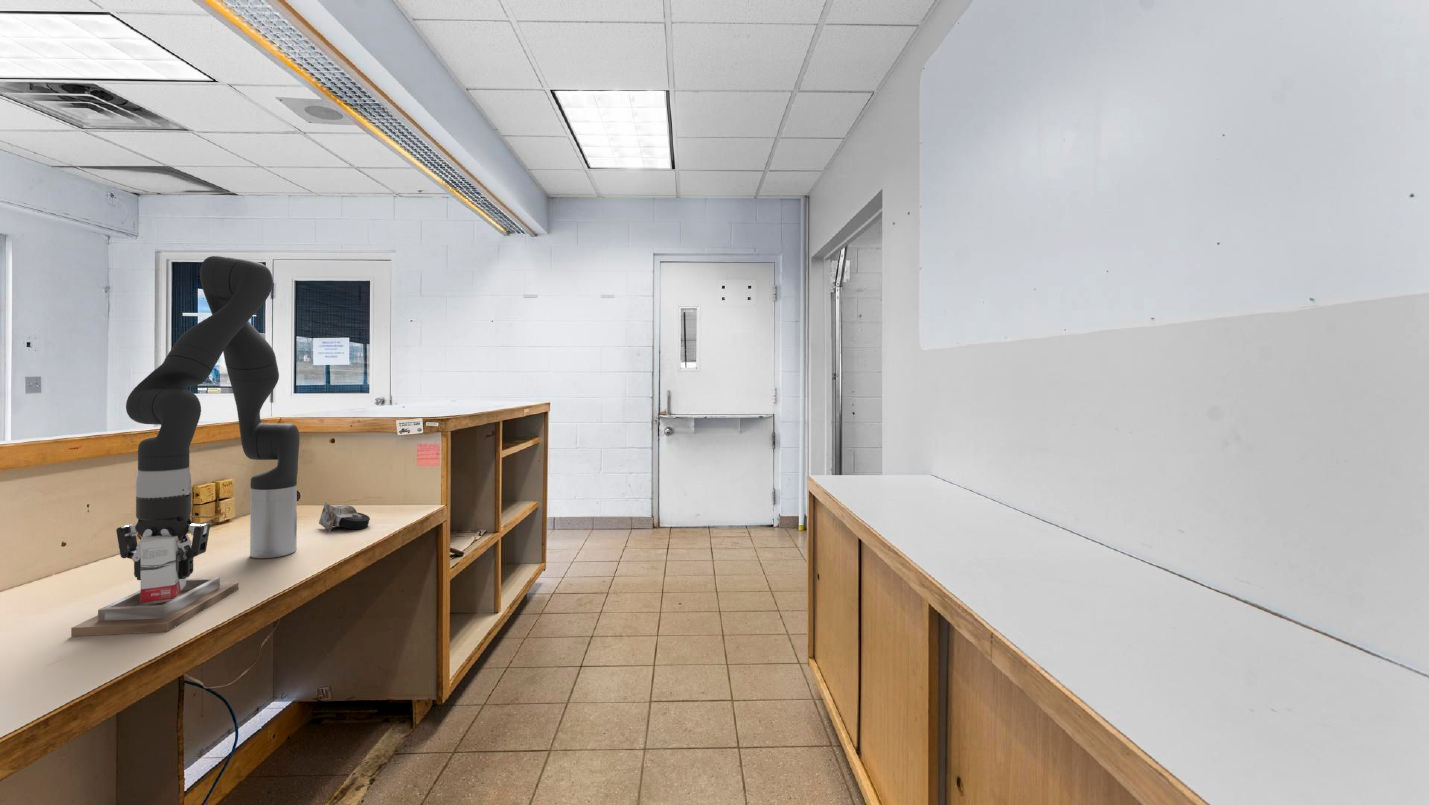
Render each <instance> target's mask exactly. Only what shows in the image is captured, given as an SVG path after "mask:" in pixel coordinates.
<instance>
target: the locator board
mask: <svg viewBox="0 0 1429 805" xmlns="http://www.w3.org/2000/svg"><path fill="white" fill-rule="evenodd" d="M239 583H240V582H239V581H238V582H221V578H220V577H203V578H202V577H201V578H186V585H185V587H184V588H183V589H182V590H181V591H180V593H179V594H178V595H177V596H176V597H175V599H169V600H161V601H154V602H146V603H140V590H141V589H140V590H138V591H136V592H134V593H131V594H128V595H126V596H124V597H123V598H121V599H118V600H116V601H114V602H112V603H110V604H108V605H105V606H104V607H101V608H99V609H98V610H97V615H94V616H92V617H91V618H89V619H86V620H85V621H82V622H81V623H78V624H76V625H74V626H72V627H71V628H70V632H71V633H70V635H71V637H85V636H86V637H87V636H88V637H89V636H107V635H126V634H127V635H128V634H147V633H148V632H152V633H169V631H171V630H172V629H174V628H176V627H178V626H179V625H181V624H183V623H184V622H186V621H188V620H189V618H190V619H192V618H193V617H194V615H195V616H197V614H200V613H201V612H203V611H205V610H207V609H208V608H210V607H212V606H213V605H215V604H216V603H218V602H220V601H222V600H223V599H225V598H227V597H228V596H230V595H231V594H233V593H235V592H236V591H238V590H239V585H240V584H239ZM234 591H235V592H234ZM204 609H205V610H204ZM199 612H200V613H199ZM175 626H176V627H175ZM148 634H149V633H148Z"/></svg>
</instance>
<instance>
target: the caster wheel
mask: <svg viewBox="0 0 1429 805" xmlns="http://www.w3.org/2000/svg"><path fill="white" fill-rule="evenodd" d="M322 508H323V509H322V511H321V515H320V518H319V521H318V524H319V525H320V526H322V527H323V528H324V529H327V531H329V530H330V531H329V532H331V531H332V529H333V527H341V528H345V529H351V530H362V529H366V528H367V527H368V526H369V524H370V520H371V518H370V516H369V515H367V514H364V513H362V512H358V511H357V510H356V508H355V507H354V506H352V505H349V504H344V505H343V504H338V505H330V504H329V503H327V502H324V505H323V507H322ZM365 527H366V528H365Z"/></svg>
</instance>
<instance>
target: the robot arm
mask: <svg viewBox="0 0 1429 805" xmlns="http://www.w3.org/2000/svg"><path fill="white" fill-rule="evenodd" d="M199 269H200V270H199V280H200V286H201V288H202V291H203V294H204V296H205V300H206V302H207V304H208V305H207V306H208V308H209V310H210V313H211V315H210V316H208V317H207V318H205V319H203V320H202V321H200V322H198V323H196V324H195V325H193V326H192V327H190V328H188V330H186V331H184V333H182V334H181V335H180V336H179V338H178V339H177V340H176V341H175V343H174V344H173V346H172V348H171V349H170V351H169V352H168V353H167V355H166V357H165V358H164V360H163V362H162V364H160V365H159V366H157V368H155V369H154V370H153V371H152V372H150V373H149V374H148V375H147V376H146V377H144V379H142V380H141V382H139V383H138V384H137V385H136V386H135V387H134V388H133V389H132V391H131V392H130V393H129V395H128V397H127V400H126V403H125V411H126V414H127V415H128V416H127V417H129V418H130V419H131V420H132V421H133V422H136V423H139V424H142V425H143V424H144V425H160V428H159V431H158V433H157V435H156V436H155V437H149V438H145V439H143V440H141V441H140V442H139V443H138V446H137V476H136V481H135V517H136V519H137V523H136V524H132V523H129V524H126V525H124V526H120V527H117V528H116V529H115V530H116V537H117V543H118V544H117V545H118V548H119V555H120V558H122V559H129V560H132V562H133V576H134V577H135V578H136V580H137V581H141V539H143V538H144V537H151V536H163V537H173V536H178V539H179V540H180V541H181V540H182V543H181V544H180V543H179V542H178V543H177V549H178V557H179V558H180V560H179V561H178V579H185V578H186V579H188V578H189V577H190V576H191V575H192V574H193V573H194V558H196V557H197V556H199V555H202V554H205V553H206V552H207V548H208V547H207V546H208V540H209V535H210V529H211V525H210V523H208V522H206V523H205V522H204V523H202V524H201V523H193V522H192V520H191V514H192V488H193V487H192V475H191V471H190V468H191V467H190V448H191V447H190V446H191V443H192V441H193V438H194V435H195V432H196V430H197V427H198V424H199V421H200V419H201V413H202V405H201V402H200V399H199V398H198V396H197V395H196V394H195V393H194V392H193V391H191V390H188V389H187V388H191V387H195V386H199V385H202V384H204V383H205V382H206V381H207V380H208V379H209V377H210V375H211V373H212V371H213V370H214V368H215V367H216V364H217V363H218V361H219V359H220V357H221V356H222V354H223V358H224V363H225V367H226V372H227V375H228V379H229V383H230V386H231V390H232V393H233V398H234V401H235V402H234V403H235V405H236V411H237V419H238V425H239V426H238V427H239V435H240V436H239V437H240V441H241V446H242V447H241V448H242V451H243V452H244V455H245V457H246V458H248V459H250V460H256V461H272V460H273V461H274V460H275V461H277V460H278V462H277V465H276V467H274V468H272V469H271V470H268V471H265V472H261V473H257V474H255V475H253V476H252V477H251V478H250V512H249V514H250V522H249V523H250V526H249V527H250V529H249V532H250V534H249V537H250V538H249V542H250V543H249V546H250V547H249V550H250V551H249V557H251V558H254V559H272V558H279V557H283V556H287V555H291V554H293V553H295V552H296V551H297V543H298V542H297V541H298V540H297V539H298V536H297V534H298V533H297V530H298V528H297V527H298V525H297V524H298V521H297V520H298V519H297V518H298V513H297V507H298V504H297V503H298V502H297V501H298V497H297V495H298V493H297V492H298V491H297V490H298V486H297V485H298V482H297V481H298V472H299V451H300V431H299V428H298V427H297V425H295V424H293V423H281V422H279V423H271V422H270V423H266V422H265V423H264V422H262V420H261V410H262V407H263V406H264V403H265V402H266V400H267V399H268V398H269V396H270V395H271V394H272V393H273V390H274V389H275V388H276V386H277V384H278V381H279V379H280V373H279V367H278V362H277V357H276V353H275V351H274V349H273V348H272V346H271V345H270V344H269V342H268V341H267V340H266V338H265V337H264V336H263V335H262V334H261V333H260V332H259V331H258V330H257V329H256V327H254V326H253V324H251V322H250V319H251V318H253V316H254V315H255V314H256V313H257V311H259V309H260V308H261V307H263V305H264V303H265V302H266V301H267V299H268V298H269V297H270V294H271V293H272V289H273V286H274V279H273V275H272V272H271V270H270V268H269V267H267V265H265V264H263V263H261V262H258V261H253V260H249V259H240V258H234V257H226V256H219V255H211V256H208V257H206V258H205V259H204V260H203V261H202V263H201V264H200V268H199ZM189 532H190V535H191V536H192V540H191V539H190V537H189V535H188V533H189ZM137 534H139V535H140V537H141V539H140V540H139V542H138V538H137Z"/></svg>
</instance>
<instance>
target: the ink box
mask: <svg viewBox="0 0 1429 805" xmlns="http://www.w3.org/2000/svg"><path fill="white" fill-rule="evenodd" d="M140 540H141V580H140V603H146V602H154V601H161V600H169V599H175V597H176V596H177V595H178V594H179V593H180V591H181V590H182V589H183V588H184V587H185V585H186V579H187V578H185V579H178V561H179V560H180V558H179V557H178V549H177V543H178V542H179V543H180V544H181V543H182V540H181V541H180V540H179V539H178V536H173V537H163V536H151V537H144V538H143V539H140Z"/></svg>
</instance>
